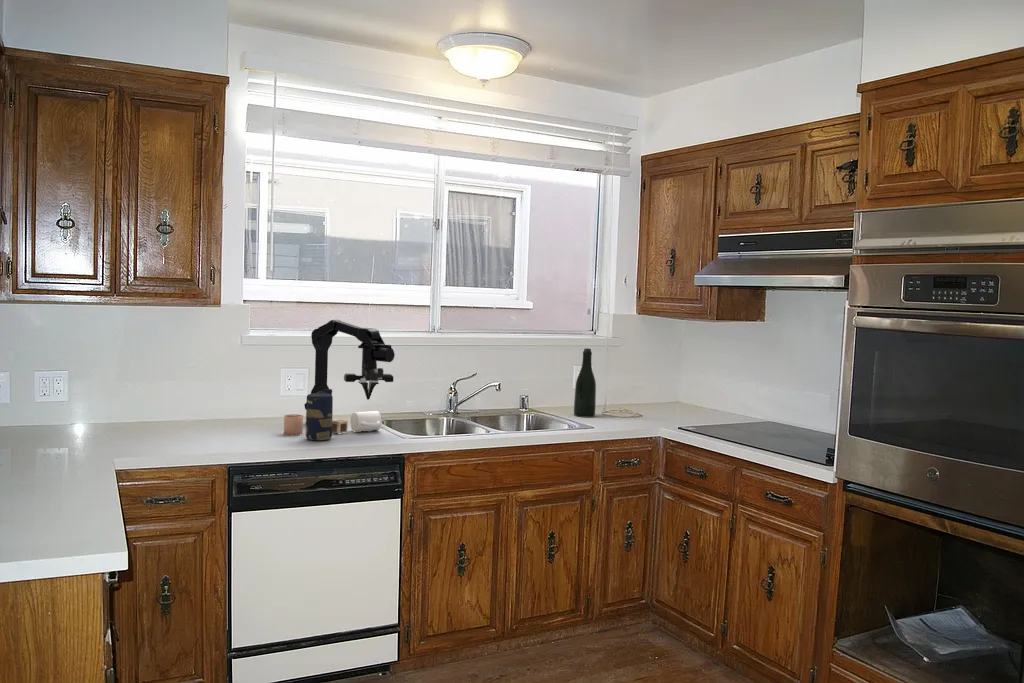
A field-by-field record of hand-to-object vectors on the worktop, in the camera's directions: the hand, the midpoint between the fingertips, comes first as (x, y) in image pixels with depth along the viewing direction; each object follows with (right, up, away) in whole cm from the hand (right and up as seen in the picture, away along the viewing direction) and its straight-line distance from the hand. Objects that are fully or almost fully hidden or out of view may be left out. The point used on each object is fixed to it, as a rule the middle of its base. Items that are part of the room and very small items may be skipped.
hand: (368, 399), depth 303 cm
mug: (0, -13, +1) cm, 13 cm away
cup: (-27, -13, -10) cm, 31 cm away
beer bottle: (+92, -14, +69) cm, 116 cm away
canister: (-15, -14, -19) cm, 28 cm away
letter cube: (-11, -13, -4) cm, 17 cm away
